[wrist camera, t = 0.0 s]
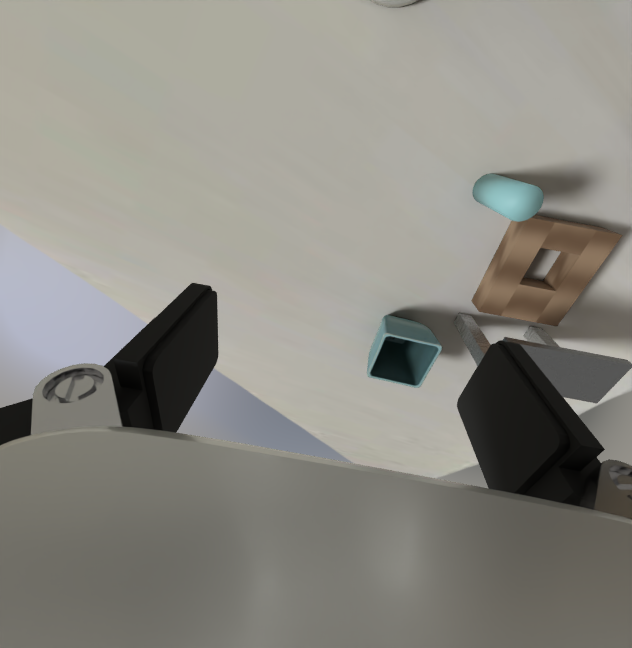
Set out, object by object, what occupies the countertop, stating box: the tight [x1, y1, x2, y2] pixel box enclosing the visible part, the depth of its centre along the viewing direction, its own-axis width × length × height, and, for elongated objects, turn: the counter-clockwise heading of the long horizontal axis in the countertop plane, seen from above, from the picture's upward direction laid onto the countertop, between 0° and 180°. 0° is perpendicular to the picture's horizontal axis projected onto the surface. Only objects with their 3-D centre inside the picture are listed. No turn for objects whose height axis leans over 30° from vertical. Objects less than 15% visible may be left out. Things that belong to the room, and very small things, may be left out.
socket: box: [472, 215, 622, 326], centre depth 43 cm, size 14×12×4 cm
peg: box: [473, 174, 544, 222], centre depth 36 cm, size 4×4×10 cm
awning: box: [454, 313, 632, 403], centre depth 43 cm, size 6×15×14 cm, turn 81°
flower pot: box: [367, 315, 442, 388], centre depth 49 cm, size 9×9×9 cm
